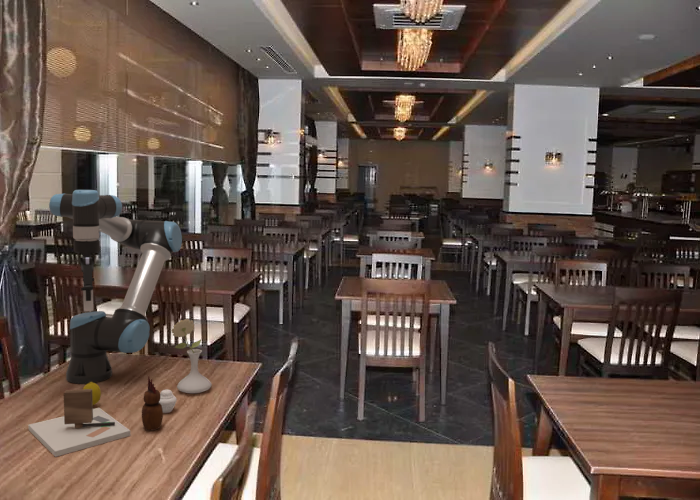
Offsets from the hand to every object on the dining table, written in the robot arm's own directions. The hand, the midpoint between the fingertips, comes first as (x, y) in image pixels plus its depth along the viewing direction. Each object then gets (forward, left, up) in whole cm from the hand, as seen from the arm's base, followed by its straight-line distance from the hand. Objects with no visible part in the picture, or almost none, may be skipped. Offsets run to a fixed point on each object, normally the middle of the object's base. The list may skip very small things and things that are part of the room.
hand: (88, 306), depth 194 cm
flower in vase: (-29, +13, -31) cm, 44 cm away
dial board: (+12, +23, -31) cm, 40 cm away
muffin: (-14, +24, -31) cm, 42 cm away
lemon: (+2, +6, -31) cm, 32 cm away
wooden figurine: (-5, +33, -31) cm, 45 cm away
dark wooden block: (+9, +25, -29) cm, 39 cm away
